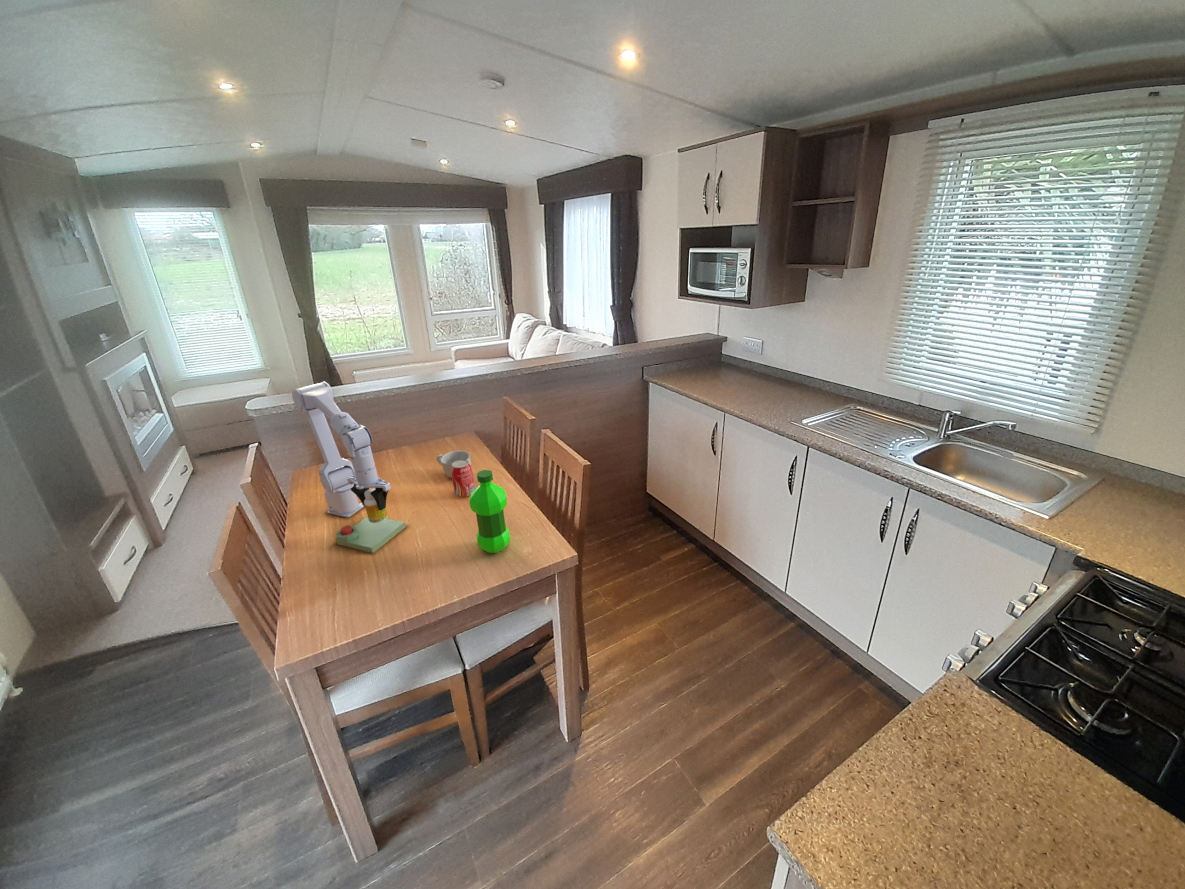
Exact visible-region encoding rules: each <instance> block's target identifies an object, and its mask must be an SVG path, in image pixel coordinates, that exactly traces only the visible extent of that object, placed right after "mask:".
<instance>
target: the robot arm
mask: <svg viewBox="0 0 1185 889" xmlns="http://www.w3.org/2000/svg"><path fill="white" fill-rule="evenodd" d="M291 395H292V396H291V398H292V401H293V403H294V405H295V408H296V410H297V412H298V414H299V415H305V417H306V419H307V420H308V423H309V425H310V428H311V431H312V433H313V435H314V439H315V441H316V444H317V447H318V448H319V451H320V453H321V457H322V458H323V461H324V462H323V463H322V465H321V467H319V469H318V475H319V481H320V483H321V485H322V487H323V489H324V490H325V491H324V498H325V501H326V505H327V508H328V510H327V511H326V512H327V514H331V515H334V516H339V517H343V518H350V517H351V516H353V515H354V514H356V513H357V512H359V511H360V510H362V509H363V508H365V505H364V500H365V495H364V493H365V492H366V491H367V490H369V489H376V490H374V491H372V492H371V493H370V494H371V495H372V496H373V497H374V499H375V501H376V503H377V506H378V508H379V510H383V509H384V508H386V509H387V498H388V494H389V491H390V490H391V489H392V487H391V483H390V482H388V481H386V480H384V479H383V478H381V477H379V476H378V471H377V467H376V462H375V459H374V455H373V452H372V448H371V446H372V445H373V444H374V440H373V436H372V433H371V432H370V430H369V428H368V427H366V426H365V425H362V424H358V423H357V422H356V421H355V419H354V418H353V417H352V416H351V415H350V413H348V412H344V411H343V412H342V411H341V409H340V408H339V406H338V405H337V403H336V402H335V401H334V391H333V389H332V387H331V385H330V384H329V383H328V382H327V381H322V382H319V383H315V384H311V385H307V386H302V387H299V388H294V389H292V392H291ZM326 417H327V418H328V419H330V421H329V423H328V421H327V418H326ZM329 424H330V426H331V427H332V429H333V430H334V431H335V433H337V435H339V437H340V438H341V442H342V445H343V446H344V448H345V450H346V453H347V455H348V457H350V460H349V459H347V458H344V457H343V458H342V457H341V454H340V452H339V448H338V447H337V444H336V442H335V439H334V436H333V434H332V430H331V428H330V426H329ZM359 501H360V502H359Z"/></svg>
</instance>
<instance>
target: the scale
mask: <svg viewBox="0 0 1185 889" xmlns="http://www.w3.org/2000/svg"><path fill="white" fill-rule="evenodd" d="M350 526H351V527H352V530H353V532H352V533H351V534H348V535H342V533H341V528H340V529H339V530H337V532H336V534H335V536H336V538H335V541H336V544H337V545H340V546H344V547H348V548H351V549H356V550H359V551H363V552H366V553H370V554H374V553H375V552H377V551H378V550H380V549H381V548H382V547H383V546H384V545H385V544H387V543H388V542H389V541H390V540H392V539H393V538H394V537H395V536H397V534H399V533H400V532H401V531H403V530H404V529H405V528H406V522H405V521H401V520H395V519H393V518H392V519H391V518H388V517H387V519H386V520H384V521H383V522H380V523H371V522H369V519H368V516H366V517H365V518H363V519H362V520H360V521H359V522H357V523H356V524H355V525H350Z"/></svg>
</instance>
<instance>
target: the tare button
mask: <svg viewBox="0 0 1185 889" xmlns="http://www.w3.org/2000/svg"><path fill="white" fill-rule="evenodd" d="M351 526H352V525H345V526H342V527H341V528H340V529H341V533H342V535H348V534H351V533H352V532H353V530H352V527H351Z"/></svg>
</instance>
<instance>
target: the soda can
mask: <svg viewBox="0 0 1185 889" xmlns="http://www.w3.org/2000/svg"><path fill="white" fill-rule="evenodd" d="M451 475H452V478H451V480H452V486H453V489H454V494H455V495H456V496H457V497H461V498H466V497H470V493H471V492H472V491H473V490H474V489H475V481H474V475H473V470H472V464H471V465H470V464H469V462H468V461H467V460H457V461H455V462H453V463H452V467H451Z"/></svg>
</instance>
